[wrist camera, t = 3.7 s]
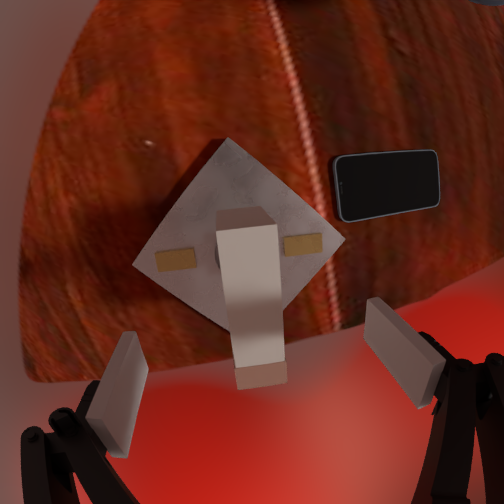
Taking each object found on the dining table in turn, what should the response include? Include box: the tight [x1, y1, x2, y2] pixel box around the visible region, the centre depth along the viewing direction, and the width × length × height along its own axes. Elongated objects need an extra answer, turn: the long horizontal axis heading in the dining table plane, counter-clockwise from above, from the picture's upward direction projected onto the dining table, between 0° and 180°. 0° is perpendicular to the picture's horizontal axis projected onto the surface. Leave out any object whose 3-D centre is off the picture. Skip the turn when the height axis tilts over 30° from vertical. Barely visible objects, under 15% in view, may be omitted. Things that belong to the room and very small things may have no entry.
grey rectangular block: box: [216, 206, 287, 390], centre depth 21 cm, size 11×3×8 cm, turn 5°
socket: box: [132, 138, 345, 332], centre depth 28 cm, size 16×16×6 cm
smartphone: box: [333, 150, 440, 222], centre depth 31 cm, size 7×1×15 cm
